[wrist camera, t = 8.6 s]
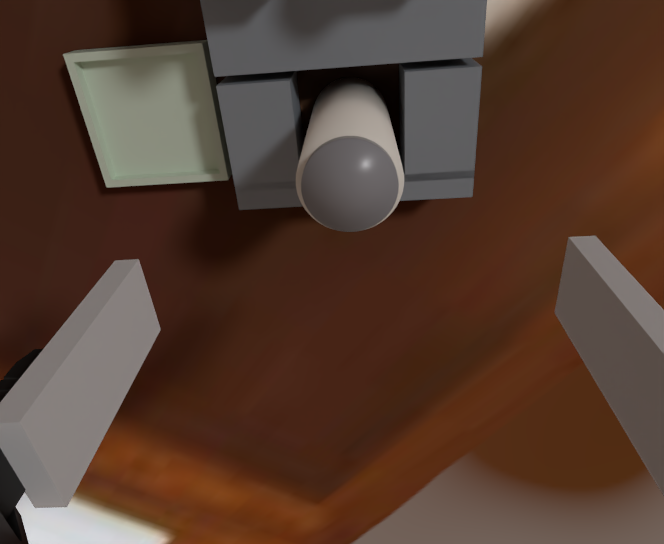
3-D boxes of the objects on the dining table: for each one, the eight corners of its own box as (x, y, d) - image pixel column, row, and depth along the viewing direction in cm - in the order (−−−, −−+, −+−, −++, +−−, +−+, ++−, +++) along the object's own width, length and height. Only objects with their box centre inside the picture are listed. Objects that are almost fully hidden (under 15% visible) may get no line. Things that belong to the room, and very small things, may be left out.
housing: (195, -129, 27) (152, -156, 21) (480, -158, 26) (519, -196, 20) (249, 187, 36) (229, 230, 30) (460, 174, 35) (483, 216, 29)
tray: (75, 50, 32) (63, 54, 30) (208, 39, 31) (202, 43, 30) (115, 179, 36) (106, 187, 35) (233, 171, 36) (228, 180, 34)
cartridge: (308, 79, 32) (288, 136, 22) (387, 74, 32) (405, 128, 21) (316, 155, 35) (300, 240, 24) (388, 151, 35) (405, 234, 24)
